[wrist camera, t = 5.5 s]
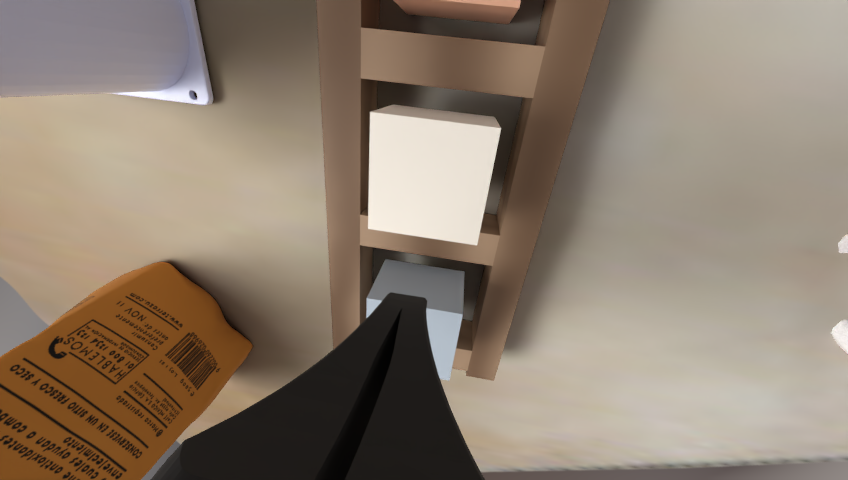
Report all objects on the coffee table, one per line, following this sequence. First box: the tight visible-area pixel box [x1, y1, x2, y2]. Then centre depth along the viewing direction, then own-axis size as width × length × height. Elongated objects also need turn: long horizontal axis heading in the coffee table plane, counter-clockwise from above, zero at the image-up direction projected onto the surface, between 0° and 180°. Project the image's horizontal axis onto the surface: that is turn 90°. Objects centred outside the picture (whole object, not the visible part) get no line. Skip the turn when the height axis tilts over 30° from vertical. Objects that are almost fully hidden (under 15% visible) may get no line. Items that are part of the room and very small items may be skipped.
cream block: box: [368, 104, 501, 245], centre depth 15 cm, size 5×5×4 cm
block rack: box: [316, 0, 610, 381], centre depth 17 cm, size 12×30×3 cm, turn 174°
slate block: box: [366, 259, 465, 380], centre depth 19 cm, size 5×5×4 cm
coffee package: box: [0, 262, 253, 480], centre depth 19 cm, size 10×12×22 cm
